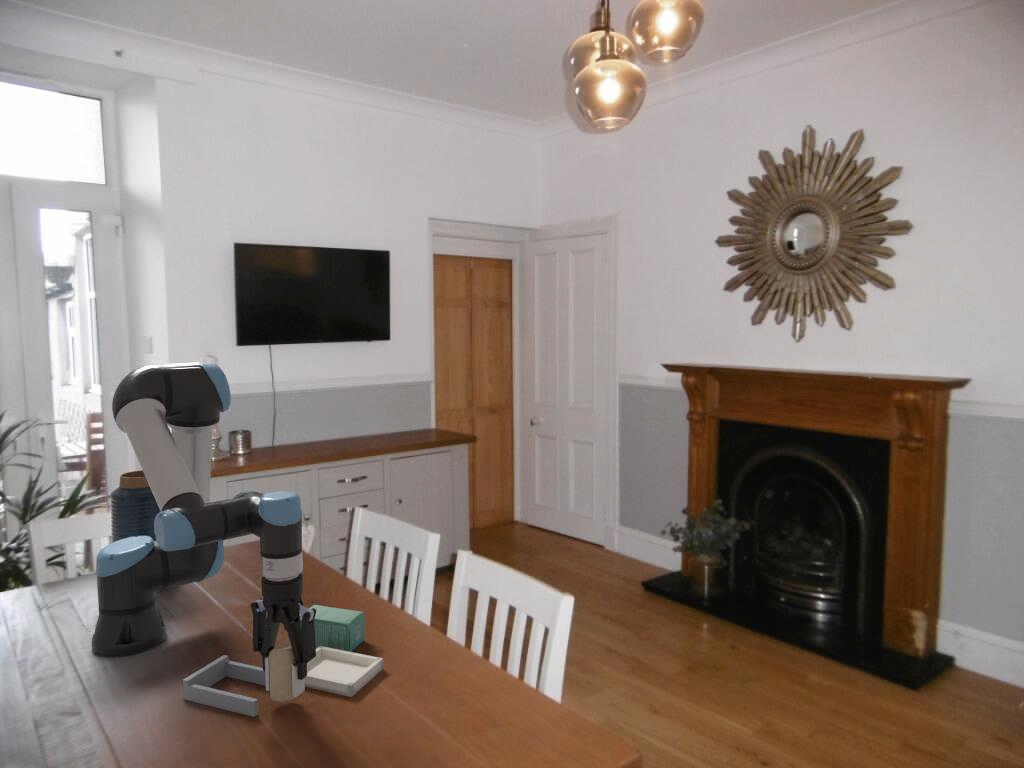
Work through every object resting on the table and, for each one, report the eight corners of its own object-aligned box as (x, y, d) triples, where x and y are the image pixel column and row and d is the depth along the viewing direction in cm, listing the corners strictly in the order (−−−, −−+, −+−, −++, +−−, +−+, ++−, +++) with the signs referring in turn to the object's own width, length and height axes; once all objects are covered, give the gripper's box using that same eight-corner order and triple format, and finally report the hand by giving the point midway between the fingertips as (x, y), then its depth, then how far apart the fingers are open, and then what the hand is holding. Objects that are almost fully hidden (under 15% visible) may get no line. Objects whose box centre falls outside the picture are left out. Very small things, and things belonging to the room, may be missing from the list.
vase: (160, 597, 192) (154, 480, 188) (99, 597, 192) (92, 480, 189) (188, 575, 208) (183, 467, 205) (132, 574, 208) (126, 467, 205)
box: (350, 655, 160) (349, 622, 159) (297, 647, 163) (296, 615, 163) (366, 641, 167) (365, 609, 166) (314, 634, 170) (313, 603, 170)
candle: (274, 687, 142) (272, 638, 141) (302, 686, 142) (301, 638, 141) (267, 702, 136) (265, 652, 135) (296, 701, 137) (295, 651, 136)
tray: (284, 682, 148) (284, 671, 148) (320, 656, 159) (320, 645, 159) (351, 697, 142) (351, 685, 142) (383, 669, 153) (383, 658, 153)
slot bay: (183, 699, 141) (182, 679, 141) (224, 673, 152) (223, 654, 151) (254, 717, 135) (253, 696, 135) (292, 688, 145) (291, 669, 145)
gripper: (229, 574, 136) (233, 690, 139) (310, 588, 130) (313, 710, 132) (256, 561, 143) (259, 672, 146) (335, 574, 137) (337, 690, 139)
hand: (285, 690), depth 139 cm, fingers closed on candle, 5 cm apart
